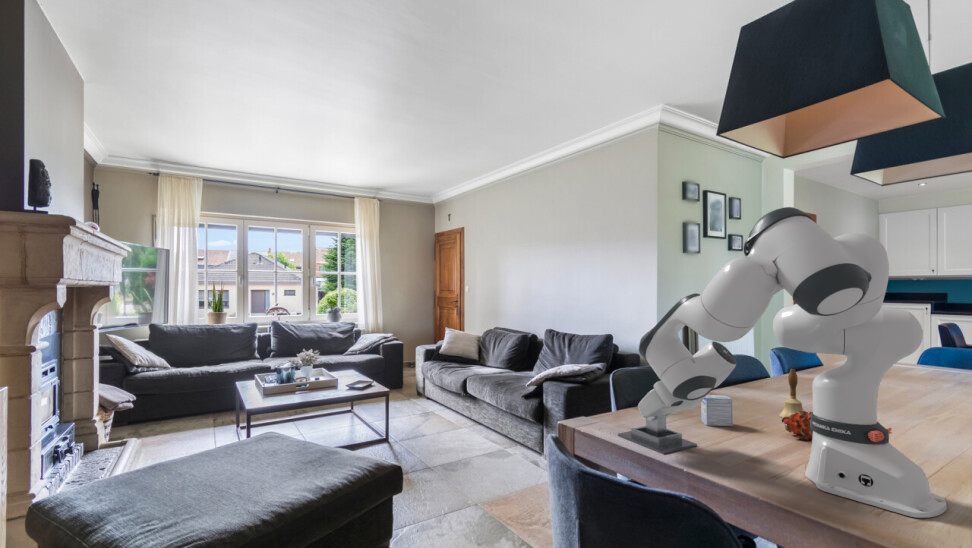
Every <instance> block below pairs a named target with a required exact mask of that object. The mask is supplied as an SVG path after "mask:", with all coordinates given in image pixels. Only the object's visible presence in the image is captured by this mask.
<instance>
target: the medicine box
mask: <svg viewBox="0 0 972 548" xmlns="http://www.w3.org/2000/svg"><path fill="white" fill-rule="evenodd" d="M700 405H701V410H700V411H701V413H700V414H701V416H700V417H701V422H702V423H703V424H704V426H709V427H712V426H713V427H716V426H717V427H733V425H734V424H733V418H734V416H733V399H732V398H731V397H729V396H727V395H722V394H720V395H719V394H717V395H716V394H715V395H713V394H708V395H707V396H706V397H705V398H704V399H703V400H702V401H701V402H700Z"/></svg>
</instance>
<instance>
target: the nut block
mask: <svg viewBox="0 0 972 548" xmlns="http://www.w3.org/2000/svg"><path fill="white" fill-rule="evenodd" d="M656 417H657V418H656V419H655V420H653V421H649V420H648V418H645V426H646V433H647V434H650V435H653V436H655V437H658V438H659V437H664V436H666V429H667V418H666V414H664V415H658V416H656Z"/></svg>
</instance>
